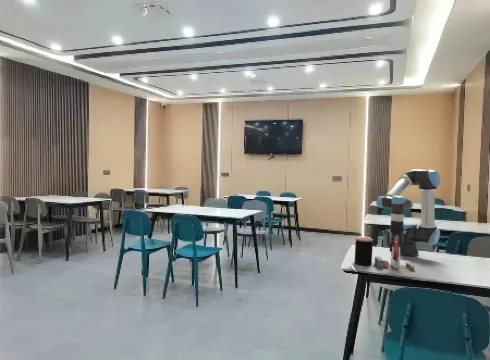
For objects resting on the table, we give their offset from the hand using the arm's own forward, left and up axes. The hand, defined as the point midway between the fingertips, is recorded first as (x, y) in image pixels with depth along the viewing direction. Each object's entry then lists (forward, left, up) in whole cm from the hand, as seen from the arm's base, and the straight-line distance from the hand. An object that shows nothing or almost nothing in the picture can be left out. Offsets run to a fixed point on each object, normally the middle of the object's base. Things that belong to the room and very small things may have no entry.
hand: (395, 257), depth 230 cm
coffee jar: (-4, -19, -8) cm, 21 cm away
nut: (0, -6, -7) cm, 9 cm away
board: (0, -1, -8) cm, 8 cm away
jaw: (0, 0, -6) cm, 6 cm away
